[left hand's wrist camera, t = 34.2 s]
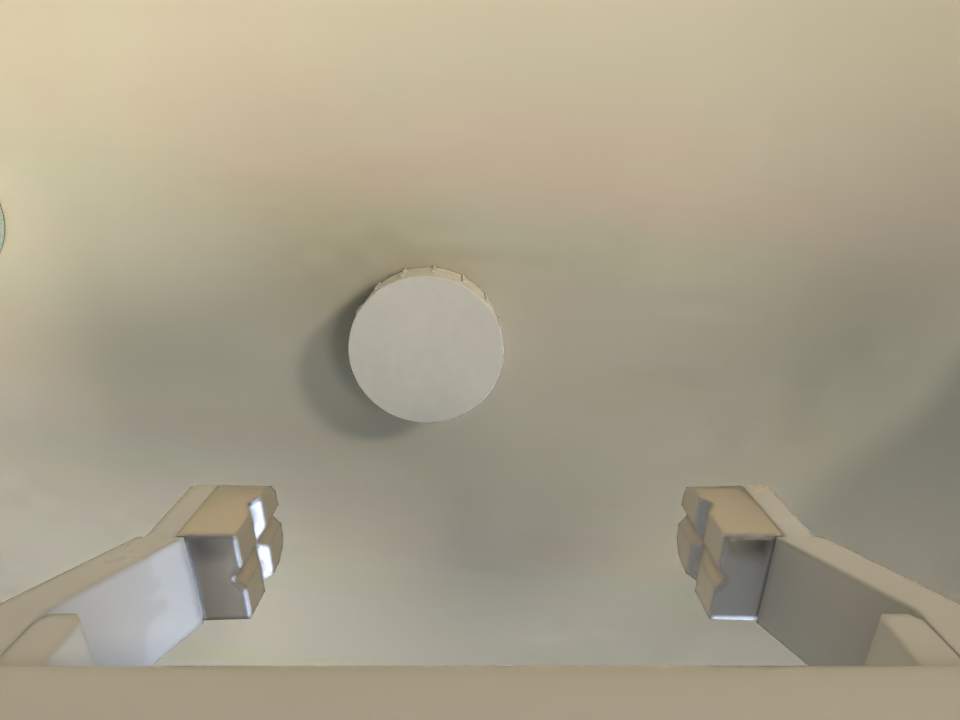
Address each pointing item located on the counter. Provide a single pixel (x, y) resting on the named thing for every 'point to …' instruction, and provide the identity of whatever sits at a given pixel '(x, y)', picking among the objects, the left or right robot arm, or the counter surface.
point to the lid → (426, 345)
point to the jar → (1, 228)
